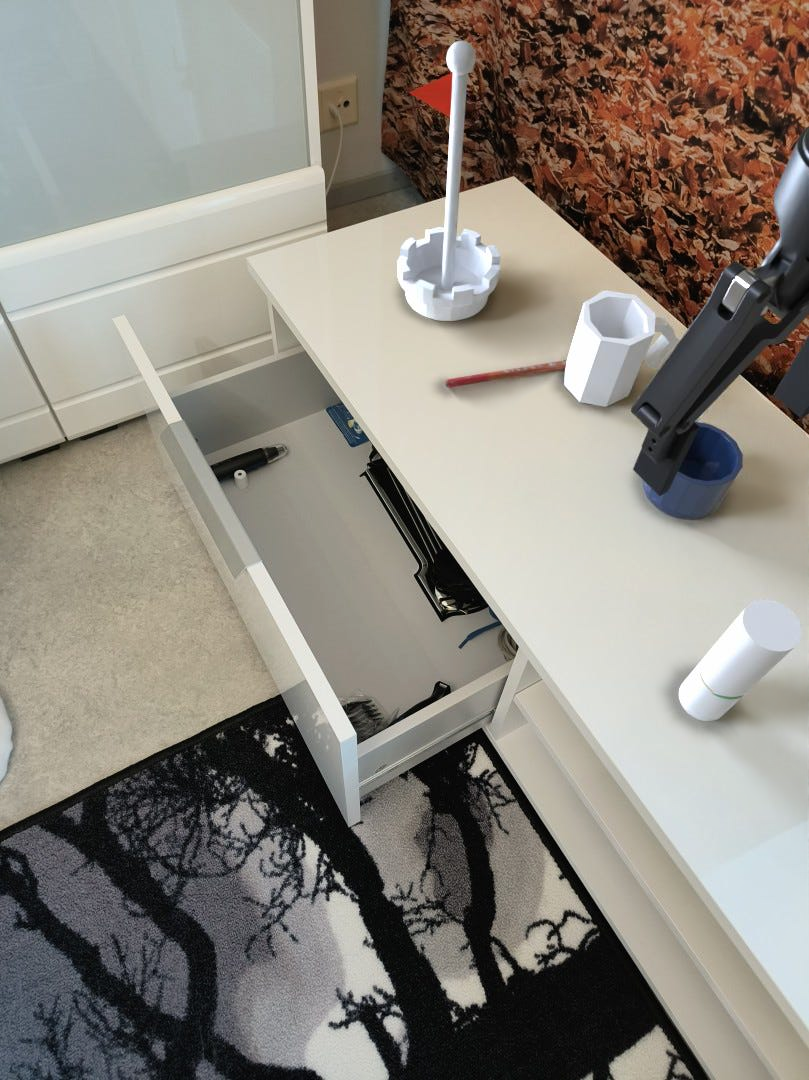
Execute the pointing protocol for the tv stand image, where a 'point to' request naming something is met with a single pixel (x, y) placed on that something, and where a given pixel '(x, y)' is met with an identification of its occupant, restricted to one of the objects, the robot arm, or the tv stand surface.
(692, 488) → the cup
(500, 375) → the pencil
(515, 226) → the tv stand surface
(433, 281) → the flag stand
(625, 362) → the mug
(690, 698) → the tube
